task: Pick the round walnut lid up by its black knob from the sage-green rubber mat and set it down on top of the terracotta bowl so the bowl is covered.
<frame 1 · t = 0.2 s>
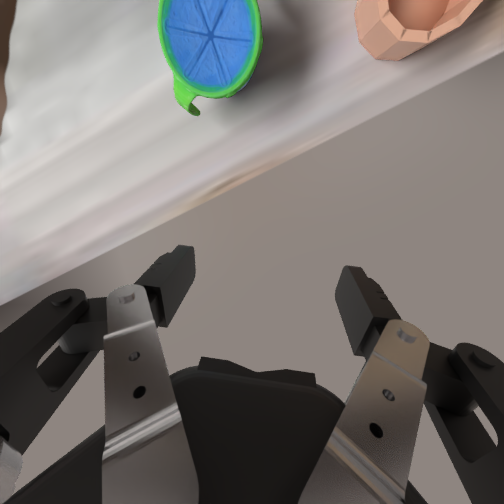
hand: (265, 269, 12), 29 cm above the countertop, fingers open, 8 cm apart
snack cup: (229, 61, 30), on the countertop
bowl: (404, 0, 26), on the countertop
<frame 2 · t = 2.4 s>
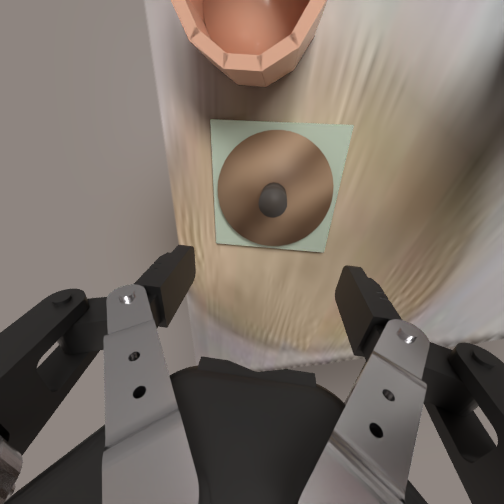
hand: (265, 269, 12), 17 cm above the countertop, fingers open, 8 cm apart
mat: (273, 192, 27), on the countertop
lid: (273, 193, 26), point 1 cm above the countertop, touching mat
bowl: (256, 9, 19), on the countertop
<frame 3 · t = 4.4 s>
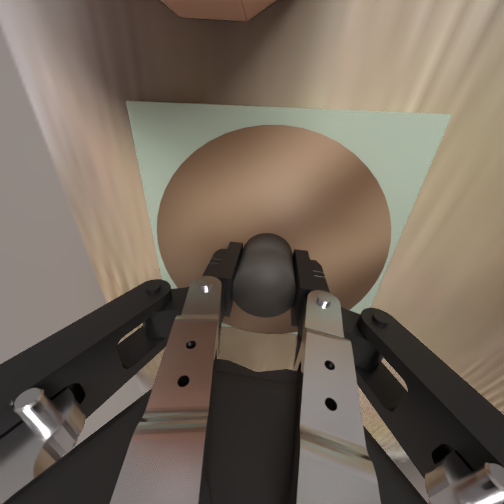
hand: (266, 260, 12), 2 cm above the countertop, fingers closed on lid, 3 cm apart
mat: (267, 244, 14), on the countertop
lid: (267, 249, 14), point 1 cm above the countertop, touching gripper, mat
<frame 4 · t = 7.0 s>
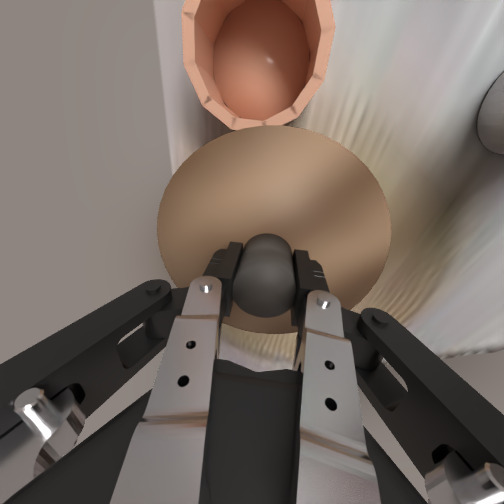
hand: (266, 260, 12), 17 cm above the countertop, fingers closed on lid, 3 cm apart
lid: (267, 249, 14), point 16 cm above the countertop, touching gripper
bowl: (260, 69, 21), on the countertop
when the fingers open (9 cm above the countertop, at t = 9.5 s): lid drops 1 cm, resting on bowl.
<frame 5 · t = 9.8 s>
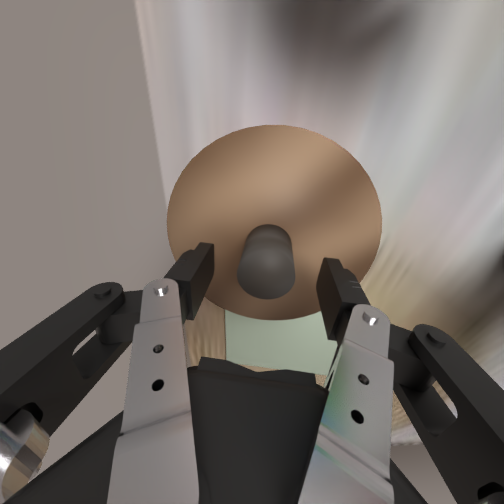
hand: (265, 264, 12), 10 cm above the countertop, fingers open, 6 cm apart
mat: (283, 330, 28), on the countertop
lid: (268, 240, 15), point 6 cm above the countertop, touching bowl
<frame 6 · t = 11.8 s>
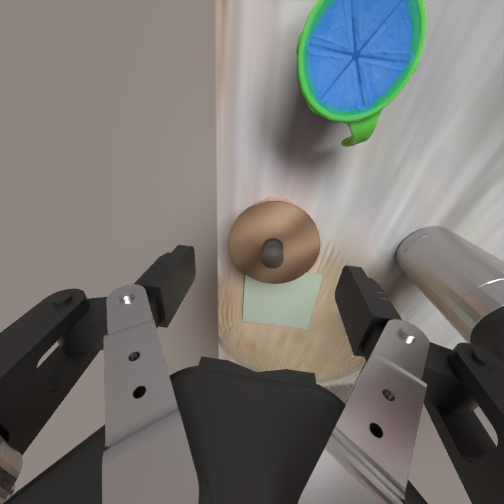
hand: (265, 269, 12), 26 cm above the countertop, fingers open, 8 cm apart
mat: (278, 298, 46), on the countertop
lid: (273, 244, 33), point 6 cm above the countertop, touching bowl
snack cup: (333, 78, 28), on the countertop
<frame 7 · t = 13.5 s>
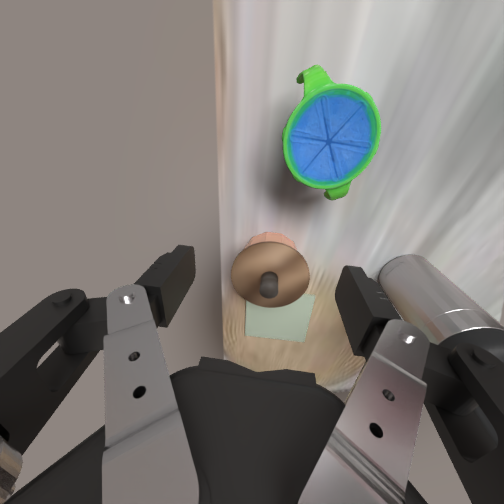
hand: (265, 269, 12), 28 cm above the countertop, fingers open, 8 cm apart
mat: (277, 315, 51), on the countertop
lid: (269, 275, 38), point 6 cm above the countertop, touching bowl
snack cup: (316, 139, 33), on the countertop
bowl: (270, 257, 44), on the countertop
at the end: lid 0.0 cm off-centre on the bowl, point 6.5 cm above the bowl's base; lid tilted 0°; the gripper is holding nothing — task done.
